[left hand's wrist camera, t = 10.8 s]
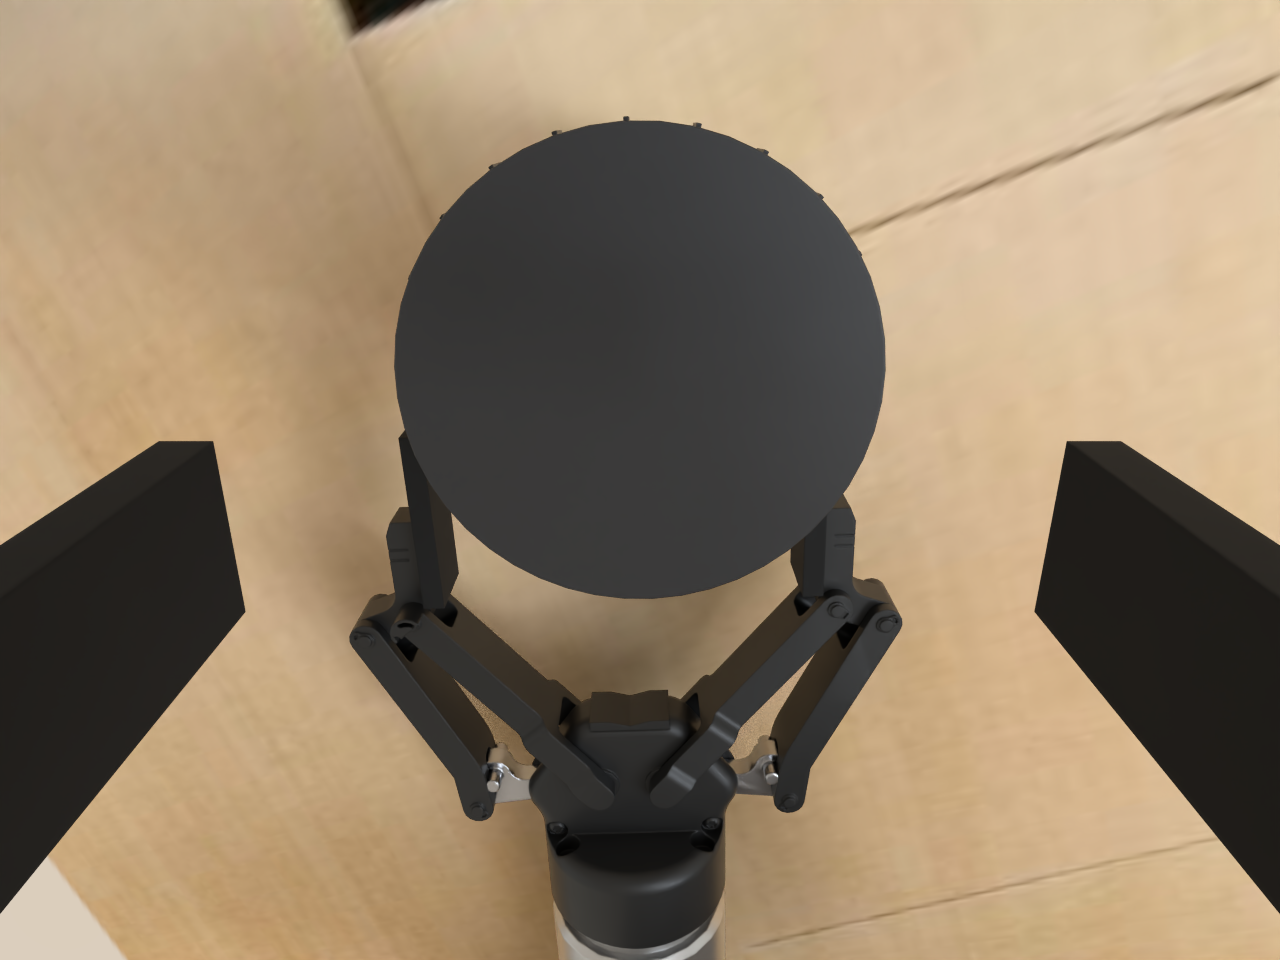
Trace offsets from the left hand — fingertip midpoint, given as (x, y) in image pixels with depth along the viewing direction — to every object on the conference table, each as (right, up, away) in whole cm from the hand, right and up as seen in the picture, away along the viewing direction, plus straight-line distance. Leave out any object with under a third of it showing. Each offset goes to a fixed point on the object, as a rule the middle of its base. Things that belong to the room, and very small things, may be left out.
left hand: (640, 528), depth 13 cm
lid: (0, +3, +7) cm, 8 cm away
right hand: (-1, +3, +18) cm, 18 cm away
